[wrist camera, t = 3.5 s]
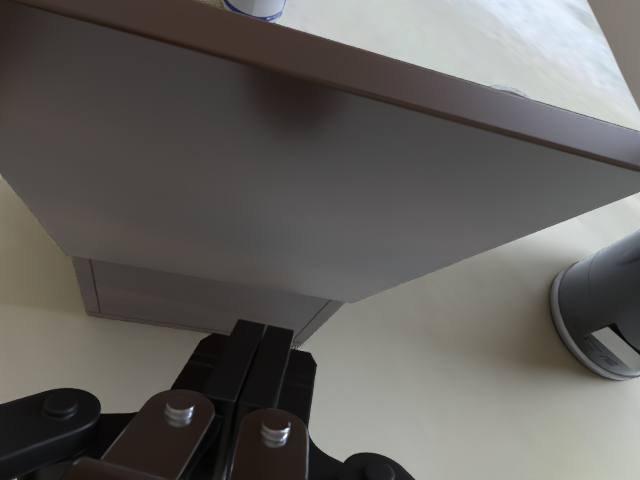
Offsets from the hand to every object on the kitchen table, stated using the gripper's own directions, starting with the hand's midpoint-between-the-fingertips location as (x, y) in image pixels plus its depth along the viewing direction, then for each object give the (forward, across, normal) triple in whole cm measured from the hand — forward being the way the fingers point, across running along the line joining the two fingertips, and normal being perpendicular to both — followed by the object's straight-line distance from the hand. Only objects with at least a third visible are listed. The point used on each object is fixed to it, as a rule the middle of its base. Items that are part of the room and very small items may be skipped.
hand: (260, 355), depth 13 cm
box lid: (+3, +1, -3) cm, 4 cm away
